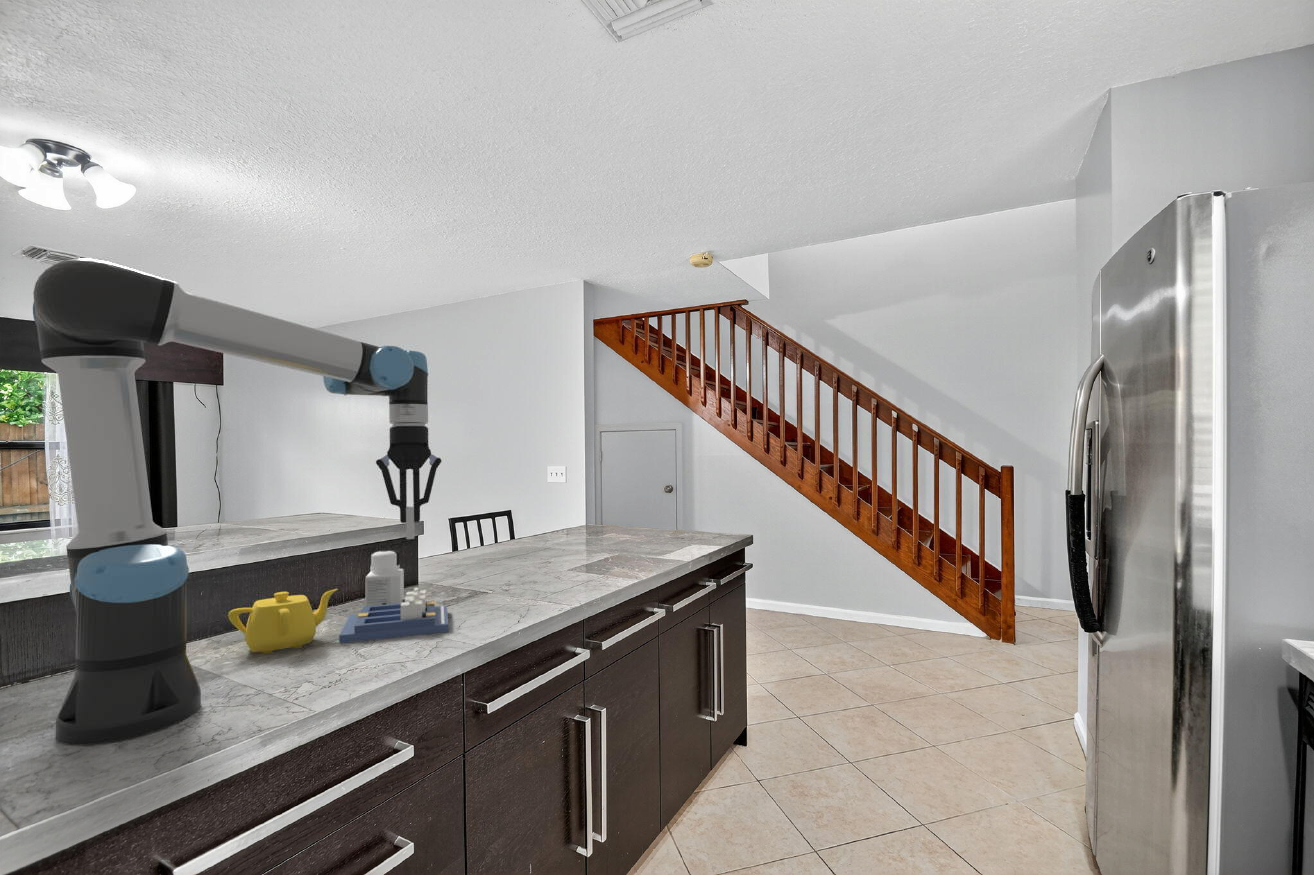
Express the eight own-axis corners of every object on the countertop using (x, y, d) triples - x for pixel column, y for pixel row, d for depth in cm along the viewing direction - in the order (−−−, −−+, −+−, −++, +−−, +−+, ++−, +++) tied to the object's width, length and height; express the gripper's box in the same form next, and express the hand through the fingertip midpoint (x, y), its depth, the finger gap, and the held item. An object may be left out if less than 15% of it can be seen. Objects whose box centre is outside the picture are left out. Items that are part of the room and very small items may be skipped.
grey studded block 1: (406, 613, 131) (406, 591, 131) (406, 609, 134) (406, 588, 134) (425, 611, 132) (425, 589, 132) (425, 608, 135) (425, 586, 135)
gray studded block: (404, 618, 126) (405, 596, 126) (405, 615, 129) (405, 593, 129) (425, 616, 128) (425, 594, 128) (425, 613, 130) (425, 591, 130)
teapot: (284, 633, 123) (284, 583, 123) (338, 636, 120) (338, 585, 121) (223, 655, 110) (223, 599, 110) (283, 660, 107) (283, 602, 107)
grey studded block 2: (400, 625, 121) (400, 601, 121) (401, 621, 124) (401, 598, 124) (421, 623, 123) (421, 599, 123) (422, 619, 125) (422, 596, 125)
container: (370, 601, 149) (370, 549, 149) (403, 599, 151) (403, 547, 151) (365, 609, 141) (365, 554, 142) (400, 606, 144) (400, 552, 144)
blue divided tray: (339, 643, 116) (339, 626, 116) (350, 621, 131) (350, 607, 131) (448, 631, 123) (448, 616, 123) (446, 612, 138) (446, 598, 138)
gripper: (373, 424, 119) (374, 543, 119) (442, 424, 124) (443, 538, 124) (376, 426, 126) (377, 538, 126) (441, 426, 131) (443, 533, 131)
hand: (410, 538), depth 125 cm, fingers closed
